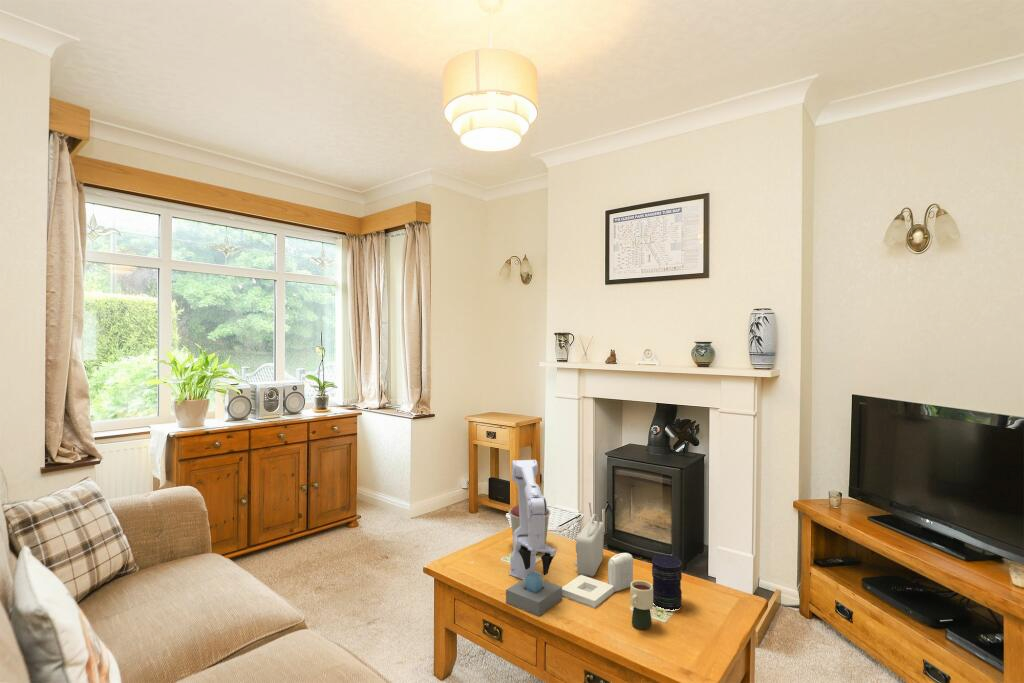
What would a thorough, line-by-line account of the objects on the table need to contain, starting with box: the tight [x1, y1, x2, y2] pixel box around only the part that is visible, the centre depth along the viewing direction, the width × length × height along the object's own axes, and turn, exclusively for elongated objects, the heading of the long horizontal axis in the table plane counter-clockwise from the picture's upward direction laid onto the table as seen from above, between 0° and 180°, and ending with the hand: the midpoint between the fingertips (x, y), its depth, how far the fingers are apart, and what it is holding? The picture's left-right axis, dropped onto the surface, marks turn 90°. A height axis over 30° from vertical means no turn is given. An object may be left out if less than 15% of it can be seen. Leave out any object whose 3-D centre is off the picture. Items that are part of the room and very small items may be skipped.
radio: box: [574, 501, 605, 577], centre depth 209 cm, size 22×8×25 cm, turn 159°
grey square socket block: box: [505, 578, 563, 617], centre depth 181 cm, size 14×14×4 cm
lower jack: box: [561, 574, 615, 609], centre depth 186 cm, size 14×14×2 cm
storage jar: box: [651, 554, 683, 610], centre depth 179 cm, size 10×10×15 cm
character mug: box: [629, 579, 654, 630], centre depth 166 cm, size 11×7×13 cm, turn 135°
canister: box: [508, 504, 551, 554], centre depth 226 cm, size 18×18×21 cm
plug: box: [526, 572, 543, 594], centre depth 182 cm, size 4×5×8 cm
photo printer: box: [607, 552, 634, 593], centre depth 191 cm, size 10×4×12 cm, turn 123°
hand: (536, 571), depth 181 cm, fingers open, 7 cm apart
